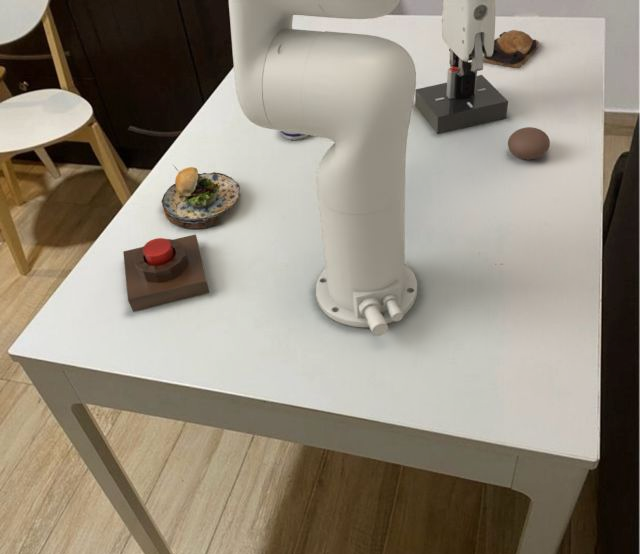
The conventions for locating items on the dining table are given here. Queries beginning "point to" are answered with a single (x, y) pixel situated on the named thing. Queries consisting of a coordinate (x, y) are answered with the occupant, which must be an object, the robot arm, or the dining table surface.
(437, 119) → the panel
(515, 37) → the bread roll
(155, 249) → the red push button
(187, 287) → the block
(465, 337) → the dining table surface
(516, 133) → the brown flattened ball
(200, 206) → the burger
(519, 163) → the dining table surface
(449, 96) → the grey flat block
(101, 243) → the dining table surface
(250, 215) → the dining table surface
